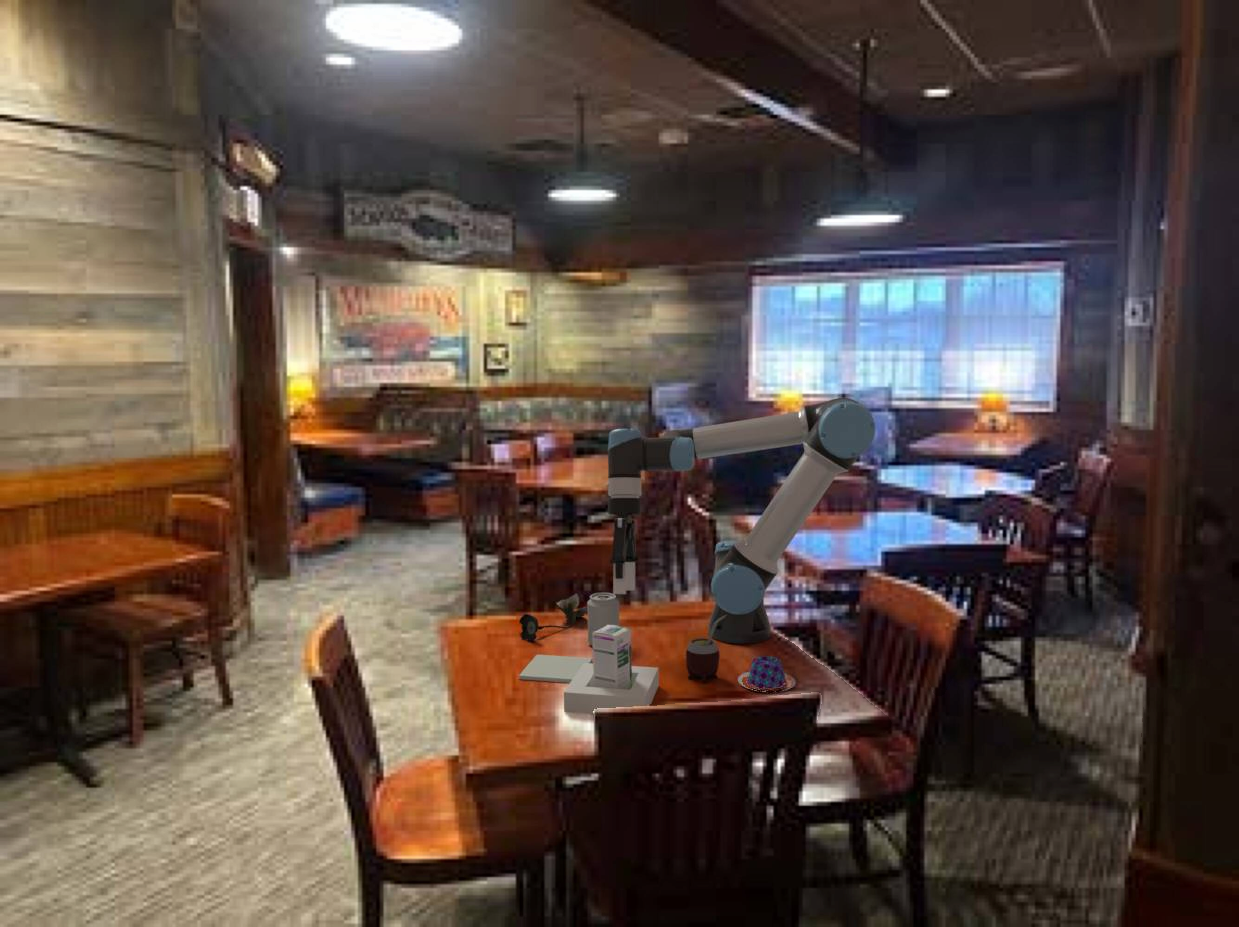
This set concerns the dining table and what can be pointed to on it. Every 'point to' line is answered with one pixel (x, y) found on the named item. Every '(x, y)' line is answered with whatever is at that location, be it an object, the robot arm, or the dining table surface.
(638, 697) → the bore block
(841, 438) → the robot arm
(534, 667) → the sage tile
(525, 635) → the artificial flower
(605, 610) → the can
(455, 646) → the dining table surface
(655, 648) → the dining table surface
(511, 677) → the dining table surface
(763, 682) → the pudding
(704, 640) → the mate gourd
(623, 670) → the syrup box
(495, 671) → the dining table surface
